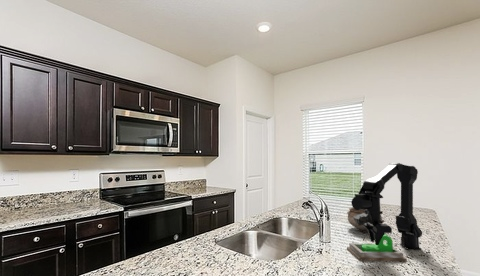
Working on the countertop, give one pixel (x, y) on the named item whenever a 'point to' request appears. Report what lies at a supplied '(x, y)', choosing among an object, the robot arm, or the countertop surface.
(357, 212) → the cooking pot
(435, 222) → the countertop surface
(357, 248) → the keyed nest
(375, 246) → the mechanical part
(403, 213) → the robot arm
